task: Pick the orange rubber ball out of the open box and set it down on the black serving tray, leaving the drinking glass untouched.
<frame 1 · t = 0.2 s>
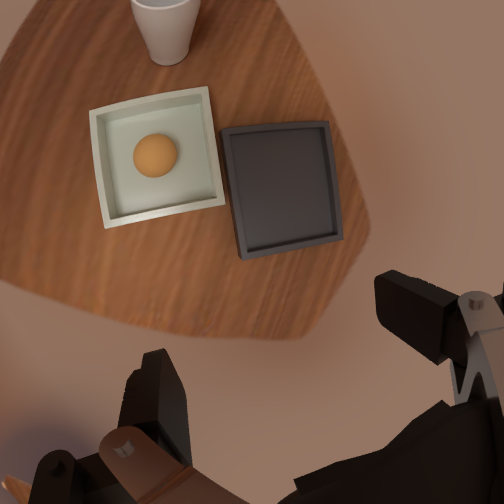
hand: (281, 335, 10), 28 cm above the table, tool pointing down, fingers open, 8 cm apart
tray: (281, 186, 38), on the table
open box: (157, 159, 33), on the table
drinking glass: (169, 51, 31), on the table
ball: (156, 158, 32), point 1 cm above the table, touching open box
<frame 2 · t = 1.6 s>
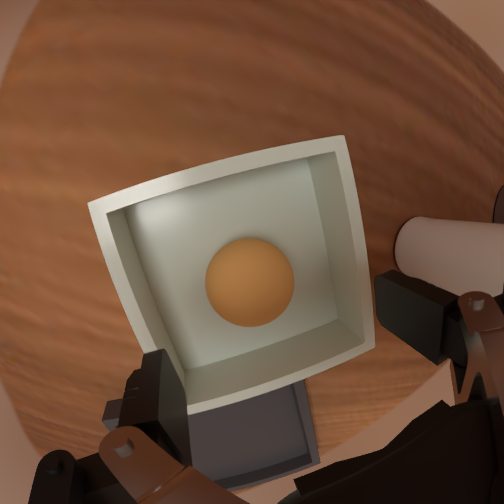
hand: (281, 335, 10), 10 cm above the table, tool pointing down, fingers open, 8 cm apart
tray: (221, 435, 23), on the table
open box: (239, 266, 20), on the table
drinking glass: (412, 245, 23), on the table
ball: (241, 270, 19), point 1 cm above the table, touching open box
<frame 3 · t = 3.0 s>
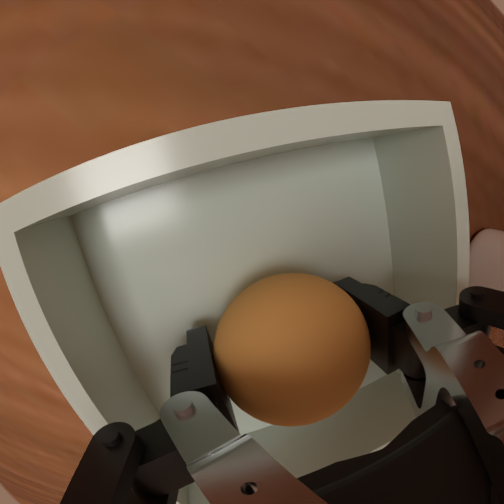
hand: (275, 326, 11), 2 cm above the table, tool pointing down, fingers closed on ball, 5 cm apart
open box: (264, 309, 12), on the table
drinking glass: (476, 264, 16), on the table
ball: (270, 318, 11), point 1 cm above the table, touching open box, gripper
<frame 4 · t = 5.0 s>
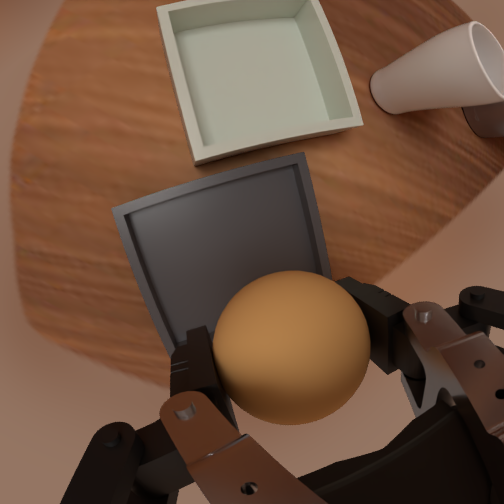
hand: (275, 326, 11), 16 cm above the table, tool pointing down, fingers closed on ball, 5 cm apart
tray: (229, 254, 26), on the table
open box: (249, 77, 23), on the table
drinking glass: (386, 93, 26), on the table
ball: (270, 317, 11), point 15 cm above the table, touching gripper
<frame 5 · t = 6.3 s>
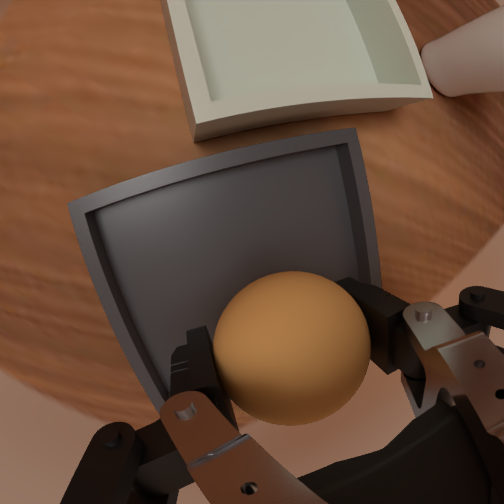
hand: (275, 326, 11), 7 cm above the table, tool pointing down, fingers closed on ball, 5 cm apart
tray: (243, 273, 18), on the table
open box: (274, 29, 15), on the table
drinking glass: (436, 71, 18), on the table
ball: (270, 317, 11), point 7 cm above the table, touching gripper
when the fingers open (3 cm above the table, at t = 7.5 s): ball drops 1 cm, resting on tray.
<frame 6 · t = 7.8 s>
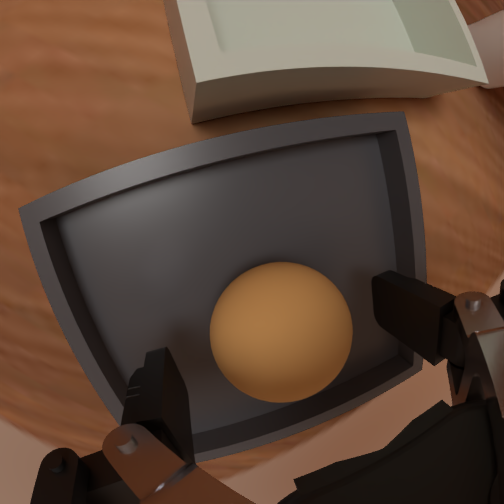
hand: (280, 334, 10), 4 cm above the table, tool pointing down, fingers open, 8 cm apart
tray: (256, 299, 13), on the table
drinking glass: (470, 59, 14), on the table
ball: (263, 306, 12), point 1 cm above the table, touching tray
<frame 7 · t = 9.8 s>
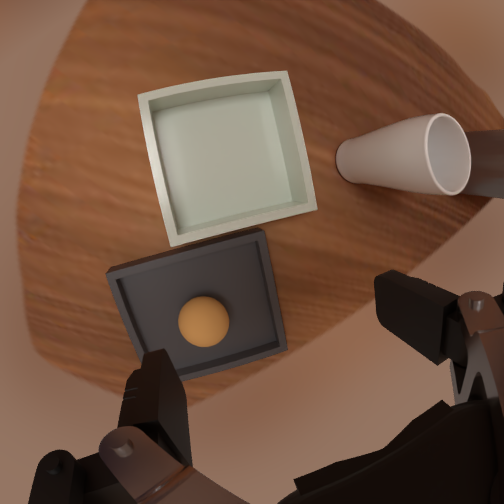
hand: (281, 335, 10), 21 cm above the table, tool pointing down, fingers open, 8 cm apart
tray: (200, 308, 31), on the table
open box: (222, 156, 28), on the table
drinking glass: (351, 161, 32), on the table
ball: (201, 311, 30), point 1 cm above the table, touching tray
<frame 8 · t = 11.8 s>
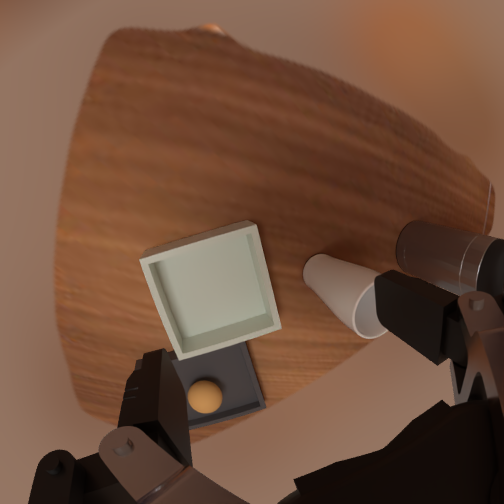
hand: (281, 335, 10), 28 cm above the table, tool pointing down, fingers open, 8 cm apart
tray: (202, 383, 41), on the table
open box: (210, 284, 38), on the table
drinking glass: (317, 270, 42), on the table
ball: (203, 386, 40), point 1 cm above the table, touching tray
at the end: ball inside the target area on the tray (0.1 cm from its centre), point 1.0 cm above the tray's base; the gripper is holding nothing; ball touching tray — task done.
